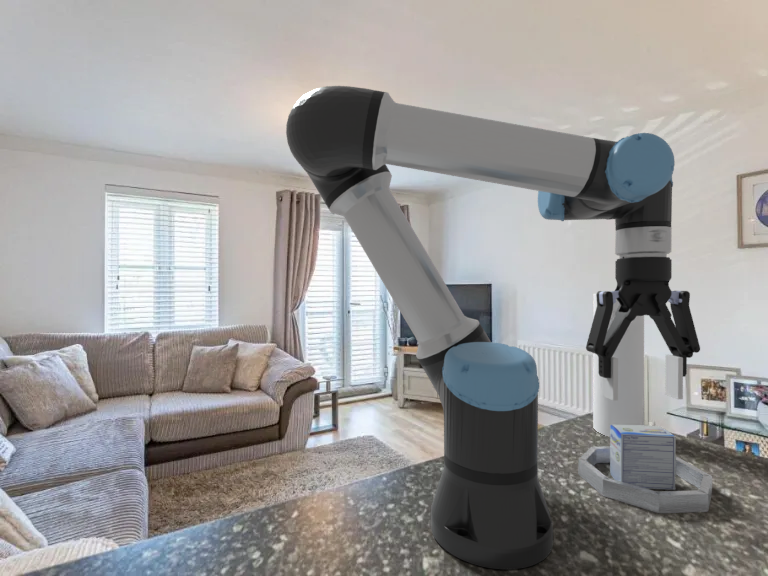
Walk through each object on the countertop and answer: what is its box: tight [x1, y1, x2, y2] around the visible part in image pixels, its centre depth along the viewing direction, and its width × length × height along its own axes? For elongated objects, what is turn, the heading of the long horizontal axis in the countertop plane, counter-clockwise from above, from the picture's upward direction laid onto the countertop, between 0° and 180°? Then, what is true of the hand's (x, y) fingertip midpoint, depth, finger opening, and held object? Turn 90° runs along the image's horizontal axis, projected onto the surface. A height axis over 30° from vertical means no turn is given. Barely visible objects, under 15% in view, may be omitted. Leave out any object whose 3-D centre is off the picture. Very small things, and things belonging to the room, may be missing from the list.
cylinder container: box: [592, 292, 645, 438], centre depth 88 cm, size 9×9×30 cm
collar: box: [577, 445, 713, 514], centre depth 66 cm, size 17×17×2 cm
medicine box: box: [609, 424, 677, 491], centre depth 66 cm, size 8×4×9 cm, turn 83°
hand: (642, 397), depth 66 cm, fingers open, 10 cm apart
